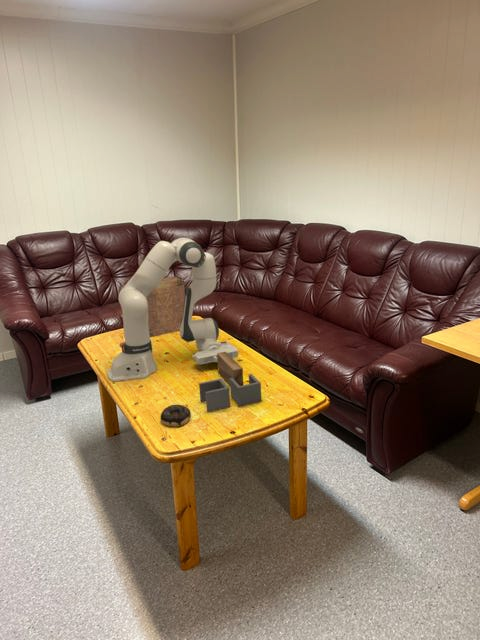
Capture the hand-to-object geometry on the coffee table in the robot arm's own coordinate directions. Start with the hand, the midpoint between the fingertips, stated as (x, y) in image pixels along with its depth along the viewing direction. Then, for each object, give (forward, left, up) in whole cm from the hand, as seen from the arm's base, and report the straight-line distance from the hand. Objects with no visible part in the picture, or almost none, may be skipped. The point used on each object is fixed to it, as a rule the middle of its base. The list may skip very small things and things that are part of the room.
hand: (222, 361), depth 203 cm
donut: (-29, -30, -6) cm, 42 cm away
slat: (0, -10, -6) cm, 11 cm away
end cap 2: (0, -27, -6) cm, 27 cm away
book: (-11, +68, -6) cm, 69 cm away
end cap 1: (-13, -26, -6) cm, 29 cm away
